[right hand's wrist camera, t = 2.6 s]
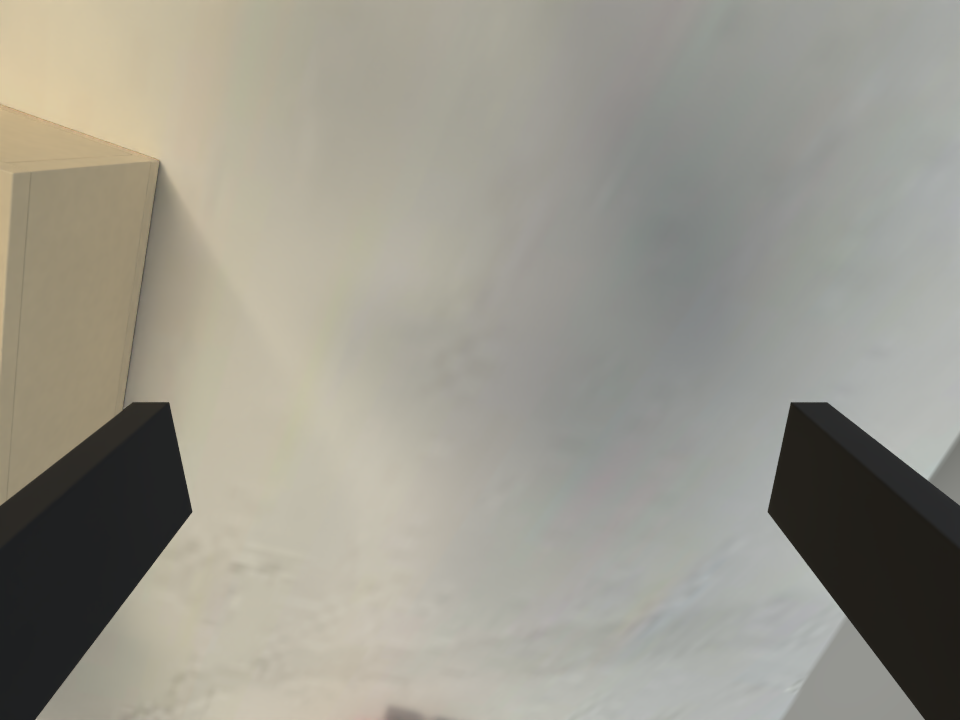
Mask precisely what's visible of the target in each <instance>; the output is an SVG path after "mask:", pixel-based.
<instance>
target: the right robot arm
mask: <svg viewBox="0 0 960 720" xmlns="http://www.w3.org/2000/svg"><path fill="white" fill-rule="evenodd" d="M191 513H192V508H191V503H190V499H189V494H188V489H187V484H186V480H185V475H184V470H183V466H182V461H181V456H180V451H179V447H178V442H177V437H176V433H175V428H174V423H173V418H172V414H171V409H170V404H169V402H133V403H131V404H130V405H129V406H128V407H126V408H125V409H124V410H122V411H121V412H120V413H119V414H117V415H116V416H115V417H114V418H112V419H111V420H110V421H108V422H107V423H106V424H105V425H103V426H102V427H101V428H99V429H98V430H97V431H96V432H94V433H93V434H92V435H90V436H89V437H88V438H87V439H85V440H84V441H83V442H81V443H80V444H79V445H78V446H76V447H75V448H74V449H72V450H71V451H70V452H69V453H67V454H66V455H65V456H63V457H62V458H61V459H60V460H58V461H57V462H56V463H54V464H53V465H52V466H51V467H49V468H48V469H47V470H45V471H44V472H43V473H42V474H40V475H39V476H38V477H36V478H35V479H34V480H33V481H31V482H30V483H29V484H27V485H26V486H25V487H24V488H22V489H21V490H20V491H19V492H17V493H16V494H15V495H13V496H12V497H11V498H10V499H8V500H7V501H6V502H4V503H3V504H2V505H1V506H0V720H35V719H36V718H37V716H38V715H39V714H40V712H41V711H42V710H43V708H44V707H45V706H46V705H47V703H48V702H49V701H50V699H51V698H52V697H53V695H54V694H55V693H56V691H57V690H58V689H59V687H60V686H61V685H62V683H63V682H64V681H65V679H66V678H67V677H68V675H69V674H70V673H71V671H72V670H73V669H74V668H75V666H76V665H77V664H78V662H79V661H80V660H81V658H82V657H83V656H84V654H85V653H86V652H87V650H88V649H89V648H90V646H91V645H92V644H93V642H94V641H95V640H96V638H97V637H98V636H99V635H100V633H101V632H102V631H103V629H104V628H105V627H106V625H107V624H108V623H109V621H110V620H111V619H112V617H113V616H114V615H115V613H116V612H117V611H118V609H119V608H120V607H121V605H122V604H123V603H124V602H125V600H126V599H127V598H128V596H129V595H130V594H131V592H132V591H133V590H134V588H135V587H136V586H137V584H138V583H139V582H140V580H141V579H142V578H143V576H144V575H145V574H146V572H147V571H148V570H149V568H150V567H151V566H152V565H153V563H154V562H155V561H156V559H157V558H158V557H159V555H160V554H161V553H162V551H163V550H164V549H165V547H166V546H167V545H168V543H169V542H170V541H171V539H172V538H173V537H174V535H175V534H176V533H177V532H178V530H179V529H180V528H181V526H182V525H183V524H184V522H185V521H186V520H187V518H188V517H189V516H190V514H191ZM768 513H769V514H770V516H771V517H772V518H773V520H774V521H775V522H776V524H777V525H778V526H779V528H780V529H781V530H782V532H783V533H784V534H785V535H786V537H787V538H788V539H789V541H790V542H791V543H792V545H793V546H794V547H795V549H796V550H797V551H798V553H799V554H800V555H801V557H802V558H803V559H804V561H805V562H806V563H807V565H808V566H809V567H810V568H811V570H812V571H813V572H814V574H815V575H816V576H817V578H818V579H819V580H820V582H821V583H822V584H823V586H824V587H825V588H826V590H827V591H828V592H829V594H830V595H831V596H832V598H833V599H834V600H835V602H836V603H837V604H838V605H839V607H840V608H841V609H842V611H843V612H844V613H845V615H846V616H847V617H848V619H849V620H850V621H851V623H852V624H853V625H854V627H855V628H856V629H857V631H858V632H859V633H860V635H861V636H862V637H863V638H864V640H865V641H866V642H867V644H868V645H869V646H870V648H871V649H872V650H873V652H874V653H875V654H876V656H877V657H878V658H879V660H880V661H881V662H882V664H883V665H884V666H885V668H886V669H887V670H888V671H889V673H890V674H891V675H892V677H893V678H894V679H895V681H896V682H897V683H898V685H899V686H900V687H901V689H902V690H903V691H904V692H905V694H906V695H907V697H908V698H909V699H910V701H911V702H912V703H913V705H914V706H915V707H916V708H917V710H918V711H919V712H920V714H921V715H922V716H923V718H924V719H925V720H960V506H959V505H958V504H957V503H956V502H954V501H953V500H952V499H950V498H949V497H948V496H947V495H945V494H944V493H943V492H941V491H940V490H939V489H938V488H936V487H935V486H934V485H933V484H931V483H930V482H929V481H927V480H926V479H925V478H924V477H922V476H921V475H920V474H918V473H917V472H916V471H915V470H913V469H912V468H911V467H909V466H908V465H907V464H906V463H904V462H903V461H902V460H900V459H899V458H898V457H897V456H895V455H894V454H893V453H891V452H890V451H889V450H888V449H886V448H885V447H884V446H882V445H881V444H880V443H879V442H877V441H876V440H875V439H873V438H872V437H871V436H870V435H868V434H867V433H866V432H864V431H863V430H862V429H861V428H859V427H858V426H857V425H855V424H854V423H853V422H852V421H850V420H849V419H848V418H846V417H845V416H844V415H843V414H841V413H840V412H839V411H837V410H836V409H835V408H834V407H832V406H831V405H830V404H829V403H827V402H791V404H790V409H789V414H788V418H787V423H786V428H785V433H784V437H783V442H782V447H781V451H780V456H779V461H778V466H777V470H776V475H775V480H774V484H773V489H772V494H771V499H770V503H769V508H768Z"/></svg>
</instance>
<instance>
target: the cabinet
mask: <svg viewBox="0 0 960 720" xmlns="http://www.w3.org/2000/svg"><path fill="white" fill-rule="evenodd" d="M158 168H159V160H157V159H154V158H151V157H149V156H146V155H143V154H140V153H137V152H134V151H131V150H129V149H126V148H123V147H120V146H117V145H114V144H112V143H109V142H106V141H103V140H100V139H97V138H94V137H92V136H89V135H86V134H83V133H80V132H77V131H74V130H72V129H69V128H66V127H63V126H60V125H57V124H54V123H52V122H49V121H46V120H43V119H40V118H37V117H35V116H32V115H29V114H26V113H23V112H20V111H17V110H15V109H12V108H9V107H6V106H3V105H0V506H1V505H2V504H3V503H4V502H6V501H7V500H8V499H10V498H11V497H12V496H13V495H15V494H16V493H17V492H19V491H20V490H21V489H22V488H24V487H25V486H26V485H27V484H29V483H30V482H31V481H33V480H34V479H35V478H36V477H38V476H39V475H40V474H42V473H43V472H44V471H45V470H47V469H48V468H49V467H51V466H52V465H53V464H54V463H56V462H57V461H58V460H60V459H61V458H62V457H63V456H65V455H66V454H67V453H69V452H70V451H71V450H72V449H74V448H75V447H76V446H78V445H79V444H80V443H81V442H83V441H84V440H85V439H87V438H88V437H89V436H90V435H92V434H93V433H94V432H96V431H97V430H98V429H99V428H101V427H102V426H103V425H105V424H106V423H107V422H108V421H110V420H111V419H112V418H114V417H115V416H116V415H117V414H119V413H120V412H121V411H122V409H123V402H124V395H125V389H126V382H127V375H128V369H129V362H130V355H131V349H132V342H133V335H134V328H135V322H136V315H137V308H138V302H139V295H140V288H141V282H142V275H143V268H144V262H145V255H146V248H147V241H148V235H149V228H150V221H151V215H152V208H153V201H154V195H155V188H156V181H157V175H158Z"/></svg>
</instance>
